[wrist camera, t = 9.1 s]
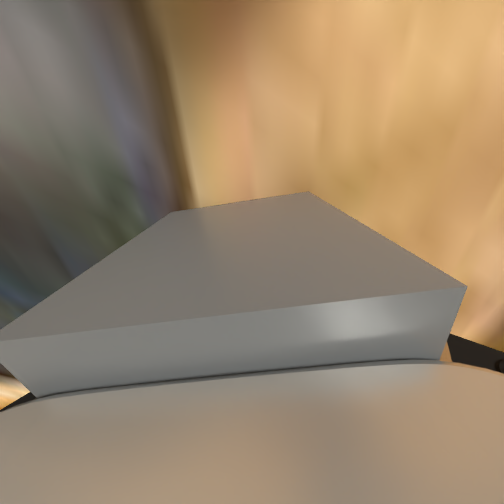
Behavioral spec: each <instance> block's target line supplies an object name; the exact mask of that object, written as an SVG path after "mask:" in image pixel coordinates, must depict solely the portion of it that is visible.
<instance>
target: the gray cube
mask: <svg viewBox="0 0 504 504" xmlns="http://www.w3.org/2000/svg"><path fill="white" fill-rule="evenodd" d="M466 289H467V286H466V285H464V284H463V283H461V282H459V281H458V280H456V279H454V278H453V277H451V276H449V275H448V274H446V273H444V272H443V271H441V270H439V269H438V268H436V267H434V266H433V265H431V264H429V263H428V262H426V261H424V260H423V259H421V258H419V257H417V256H416V255H414V254H412V253H411V252H409V251H407V250H406V249H404V248H402V247H401V246H399V245H397V244H396V243H394V242H392V241H391V240H389V239H387V238H386V237H384V236H382V235H381V234H379V233H377V232H376V231H374V230H372V229H371V228H369V227H367V226H365V225H364V224H362V223H360V222H359V221H357V220H355V219H354V218H352V217H350V216H349V215H347V214H345V213H344V212H342V211H340V210H339V209H337V208H335V207H334V206H332V205H330V204H329V203H327V202H325V201H324V200H322V199H320V198H319V197H317V196H315V195H314V194H312V193H310V192H302V193H295V194H289V195H282V196H276V197H269V198H262V199H256V200H249V201H242V202H236V203H229V204H222V205H216V206H209V207H203V208H196V209H189V210H183V211H176V212H171V213H169V214H168V215H167V216H165V217H164V218H162V219H161V220H159V221H158V222H156V223H155V224H153V225H152V226H151V227H149V228H148V229H146V230H145V231H143V232H142V233H140V234H139V235H138V236H136V237H135V238H133V239H132V240H130V241H129V242H127V243H126V244H124V245H123V246H122V247H120V248H119V249H117V250H116V251H114V252H113V253H111V254H110V255H108V256H107V257H106V258H104V259H103V260H101V261H100V262H98V263H97V264H95V265H94V266H93V267H91V268H90V269H88V270H87V271H85V272H84V273H82V274H81V275H79V276H78V277H77V278H75V279H74V280H72V281H71V282H69V283H68V284H66V285H65V286H63V287H62V288H61V289H59V290H58V291H56V292H55V293H53V294H52V295H50V296H49V297H48V298H46V299H45V300H43V301H42V302H40V303H39V304H37V305H36V306H34V307H33V308H32V309H30V310H29V311H27V312H26V313H24V314H23V315H21V316H20V317H18V318H17V319H16V320H14V321H13V322H11V323H10V324H8V325H7V326H5V327H4V328H3V329H1V330H0V363H1V364H2V365H3V366H4V367H5V368H6V369H7V370H9V371H10V372H11V373H12V374H13V375H14V376H15V377H16V378H17V379H18V380H19V381H20V382H21V383H22V384H23V385H24V386H25V387H26V388H27V389H28V390H29V391H30V392H31V393H32V394H33V395H34V396H35V397H36V398H37V399H39V398H43V397H48V396H52V395H56V394H62V393H68V392H75V391H82V390H89V389H97V388H107V387H117V386H126V385H136V384H145V383H155V382H164V381H174V380H184V379H194V378H204V377H214V376H224V375H234V374H244V373H254V372H264V371H274V370H285V369H295V368H306V367H317V366H327V365H338V364H348V363H361V362H371V361H388V360H406V359H419V360H440V357H441V355H442V352H443V350H444V347H445V344H446V342H447V339H448V336H449V334H450V331H451V328H452V326H453V323H454V321H455V318H456V315H457V313H458V310H459V307H460V305H461V302H462V300H463V297H464V294H465V292H466Z"/></svg>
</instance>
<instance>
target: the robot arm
mask: <svg viewBox="0 0 504 504" xmlns="http://www.w3.org/2000/svg"><path fill="white" fill-rule="evenodd" d="M0 504H504V352H501V351H498V350H495V349H492V348H489V347H487V346H484V345H481V344H478V343H475V342H472V341H470V340H467V339H464V338H461V337H458V336H455V335H453V334H449V336H448V339H447V342H446V344H445V347H444V350H443V352H442V355H441V357H440V360H419V359H406V360H388V361H371V362H361V363H348V364H338V365H327V366H317V367H306V368H295V369H285V370H274V371H264V372H254V373H244V374H234V375H224V376H214V377H204V378H194V379H184V380H174V381H164V382H155V383H145V384H136V385H126V386H117V387H107V388H97V389H89V390H82V391H75V392H68V393H62V394H56V395H52V396H48V397H43V398H39V399H37V398H36V397H35V396H34V395H33V394H32V393H31V392H29V393H28V394H26V395H24V396H23V397H21V398H19V399H18V400H16V401H14V402H13V403H11V404H9V405H8V406H6V407H4V408H3V409H1V410H0Z"/></svg>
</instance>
